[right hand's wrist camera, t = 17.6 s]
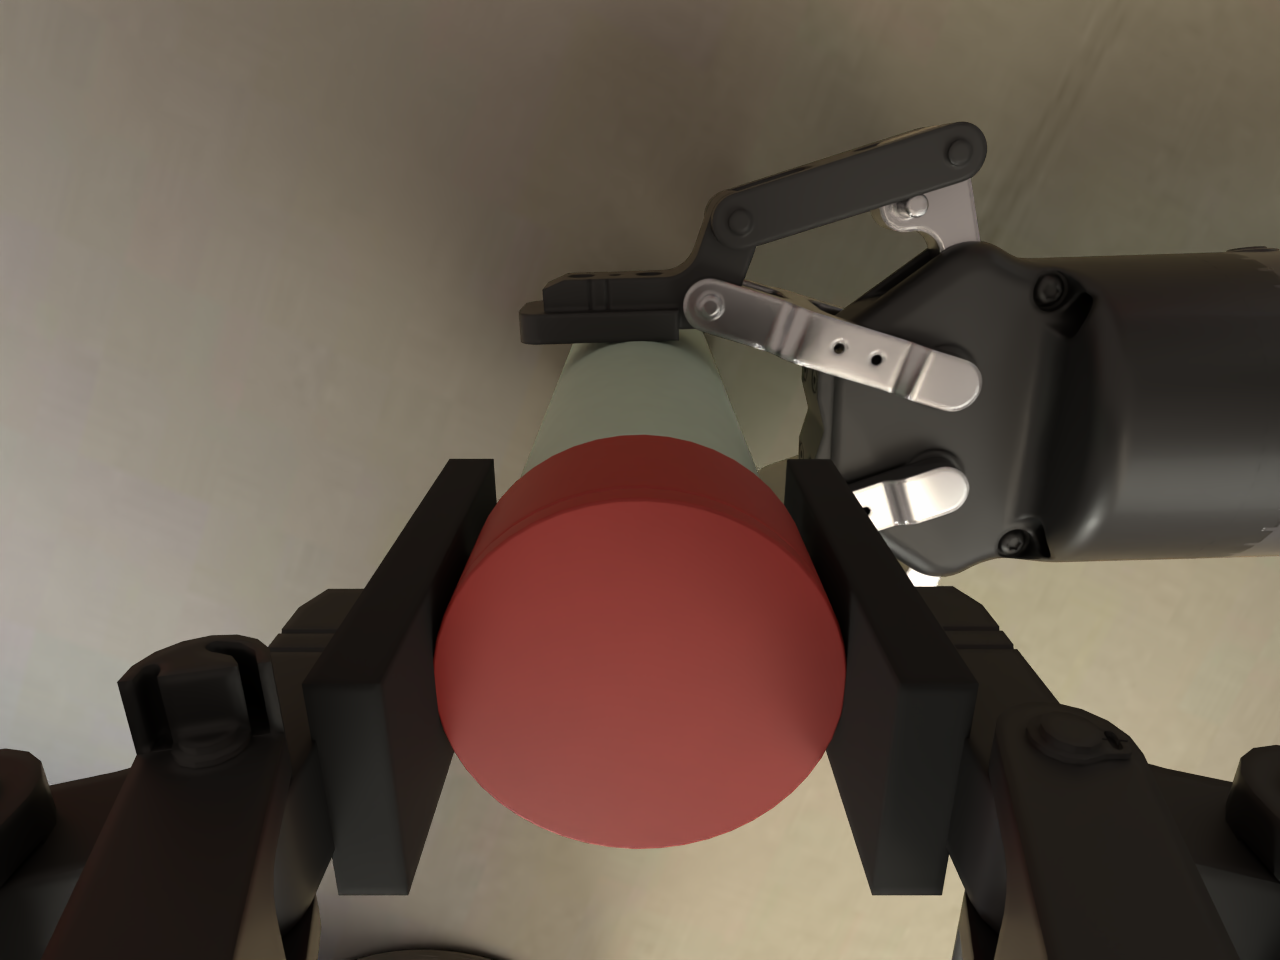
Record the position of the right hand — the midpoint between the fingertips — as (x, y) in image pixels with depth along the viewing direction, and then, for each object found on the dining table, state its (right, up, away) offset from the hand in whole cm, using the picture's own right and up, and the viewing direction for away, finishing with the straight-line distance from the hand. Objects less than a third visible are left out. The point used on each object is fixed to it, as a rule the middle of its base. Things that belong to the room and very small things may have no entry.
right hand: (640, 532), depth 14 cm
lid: (0, -2, -4) cm, 4 cm away
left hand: (-3, +2, +6) cm, 7 cm away
